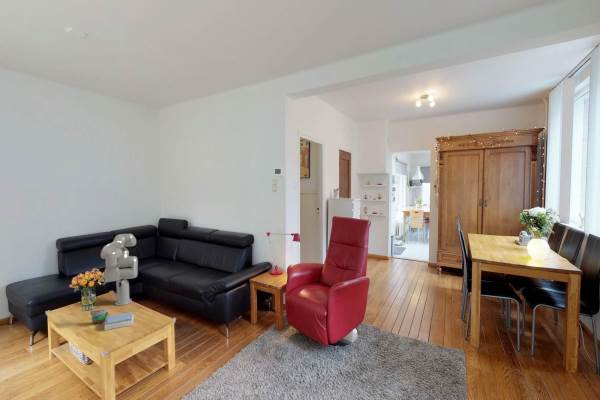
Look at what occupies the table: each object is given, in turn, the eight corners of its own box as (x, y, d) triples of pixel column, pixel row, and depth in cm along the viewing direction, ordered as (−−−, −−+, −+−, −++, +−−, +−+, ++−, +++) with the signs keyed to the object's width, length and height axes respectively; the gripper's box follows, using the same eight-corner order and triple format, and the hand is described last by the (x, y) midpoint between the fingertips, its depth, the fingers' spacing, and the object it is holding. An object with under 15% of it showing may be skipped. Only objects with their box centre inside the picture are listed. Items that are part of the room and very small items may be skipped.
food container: (87, 326, 210) (87, 313, 209) (91, 322, 216) (90, 310, 215) (106, 324, 213) (105, 311, 212) (109, 320, 219) (108, 308, 218)
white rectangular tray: (107, 323, 215) (107, 317, 215) (133, 318, 223) (133, 312, 222) (104, 330, 204) (104, 325, 204) (132, 325, 212) (131, 319, 211)
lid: (107, 317, 215) (107, 314, 214) (133, 312, 222) (133, 309, 222) (104, 324, 204) (104, 321, 203) (131, 319, 211) (131, 316, 211)
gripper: (125, 264, 223) (126, 284, 224) (99, 267, 214) (100, 288, 216) (124, 266, 216) (125, 287, 217) (97, 270, 208) (98, 291, 209)
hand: (112, 287), depth 217 cm, fingers open, 9 cm apart
